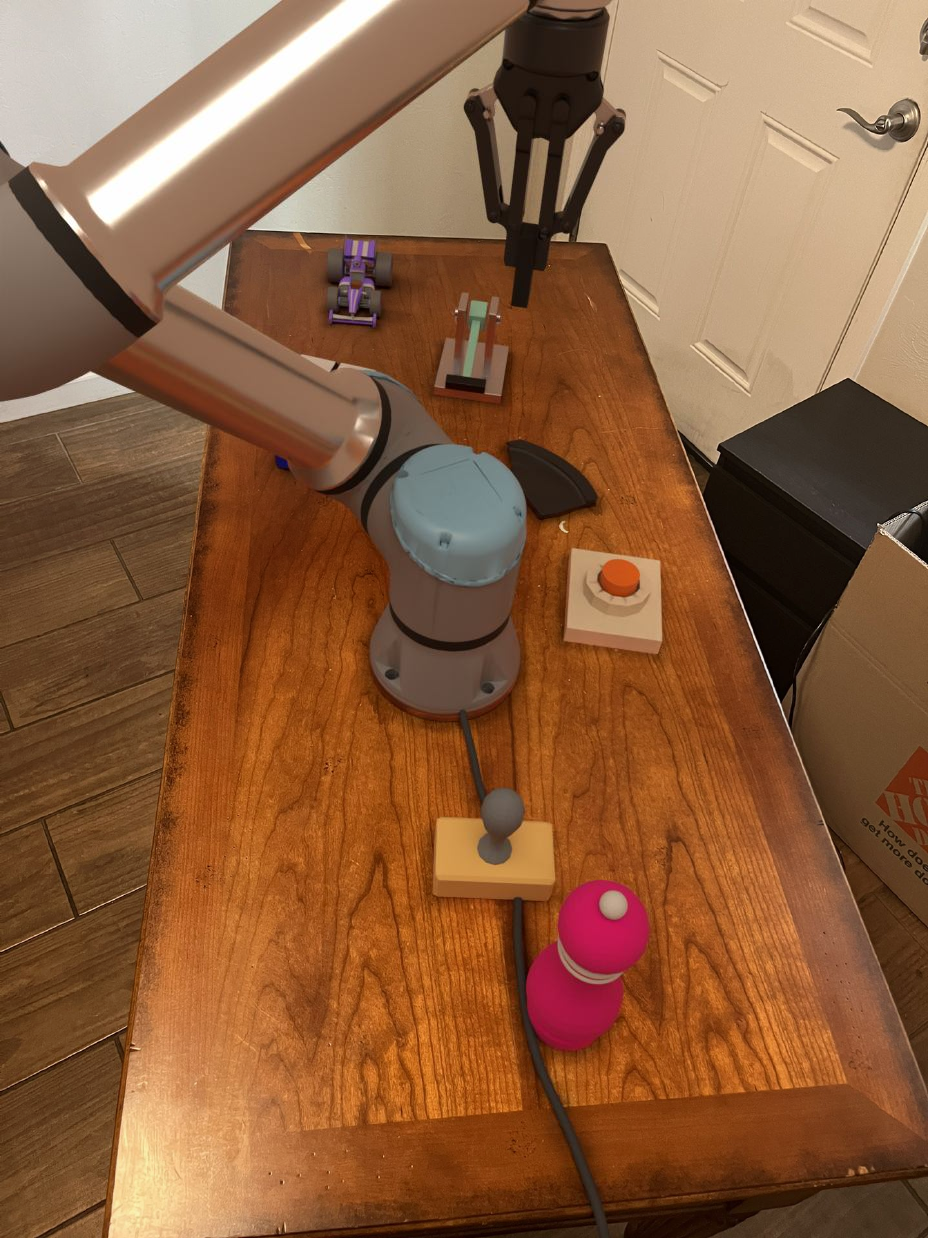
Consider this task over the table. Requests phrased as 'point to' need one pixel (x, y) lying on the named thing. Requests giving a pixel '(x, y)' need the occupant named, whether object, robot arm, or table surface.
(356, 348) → the table surface
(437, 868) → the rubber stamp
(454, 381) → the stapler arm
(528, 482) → the curved wedge
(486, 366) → the lever switch
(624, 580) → the bell button
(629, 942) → the pepper mill
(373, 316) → the toy race car
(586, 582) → the beige square mount
